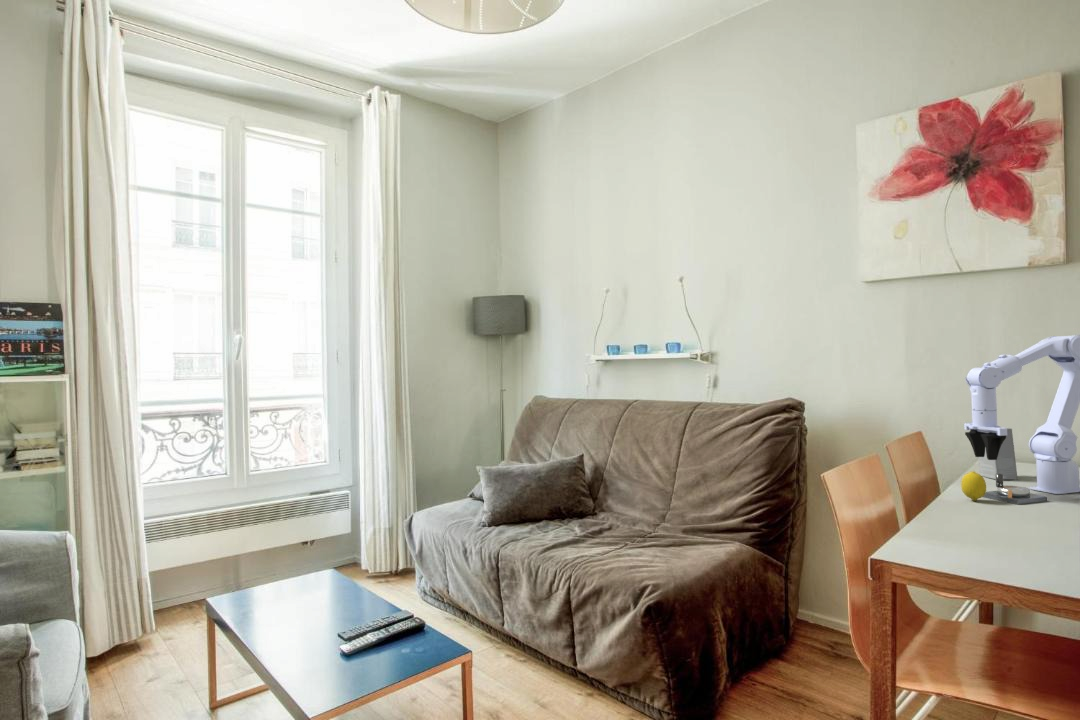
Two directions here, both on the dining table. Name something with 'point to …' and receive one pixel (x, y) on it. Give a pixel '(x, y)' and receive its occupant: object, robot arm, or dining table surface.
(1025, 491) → the dial
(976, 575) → the dining table surface
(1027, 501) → the dial plate
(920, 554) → the dining table surface
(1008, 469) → the skincare box
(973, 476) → the lemon
